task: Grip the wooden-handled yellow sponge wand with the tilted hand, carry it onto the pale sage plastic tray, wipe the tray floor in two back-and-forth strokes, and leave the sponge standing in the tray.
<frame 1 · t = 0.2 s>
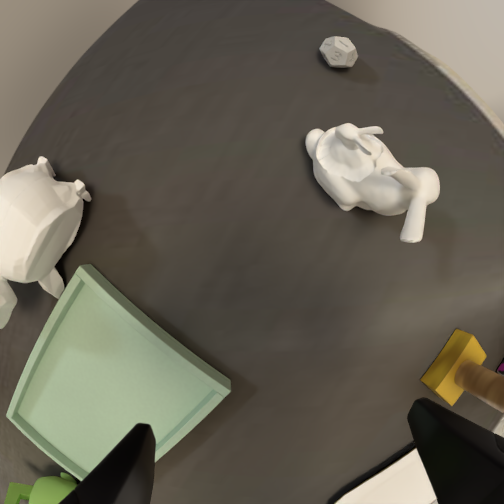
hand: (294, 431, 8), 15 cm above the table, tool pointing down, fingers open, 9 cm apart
sponge wand: (447, 363, 25), on the table
plate: (400, 488, 26), on the table
game die: (333, 61, 23), on the table
tray: (95, 404, 22), on the table
white turtle figurine: (43, 246, 21), on the table
white figurine: (350, 192, 24), on the table
teapot: (88, 498, 22), on the table
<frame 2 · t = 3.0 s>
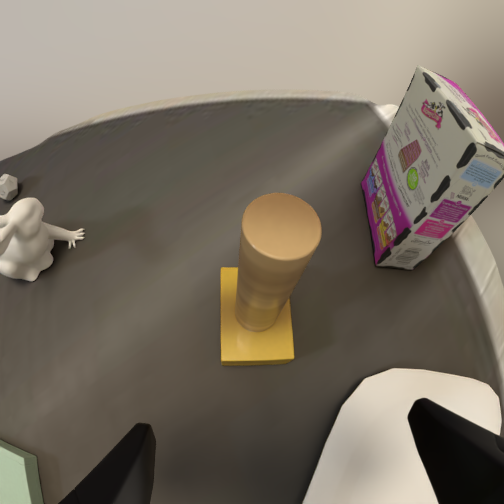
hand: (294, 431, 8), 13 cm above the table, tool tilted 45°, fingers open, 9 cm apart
sponge wand: (252, 322, 23), on the table
plate: (412, 482, 16), on the table
game die: (13, 194, 27), on the table
candy bar box: (386, 224, 29), on the table
white figurine: (36, 266, 23), on the table
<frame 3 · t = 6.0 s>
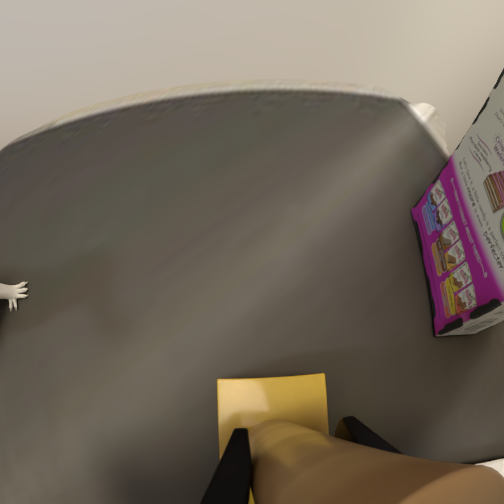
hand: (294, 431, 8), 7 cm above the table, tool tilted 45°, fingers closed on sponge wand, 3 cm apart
sponge wand: (267, 439, 13), on the table, touching gripper
candy bar box: (443, 270, 19), on the table
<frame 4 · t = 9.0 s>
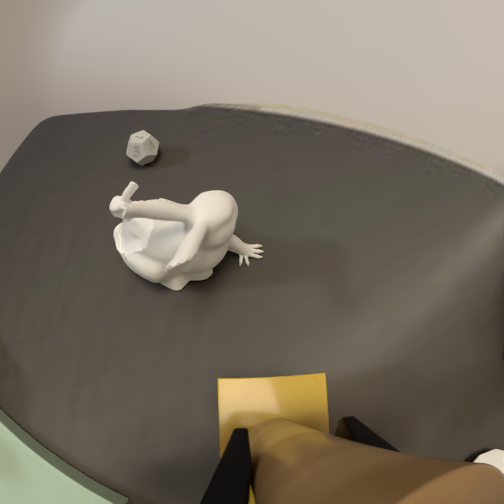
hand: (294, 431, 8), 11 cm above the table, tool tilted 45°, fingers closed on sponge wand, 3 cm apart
sponge wand: (268, 439, 13), point 4 cm above the table, touching gripper
game die: (145, 159, 28), on the table
white figurine: (181, 270, 22), on the table
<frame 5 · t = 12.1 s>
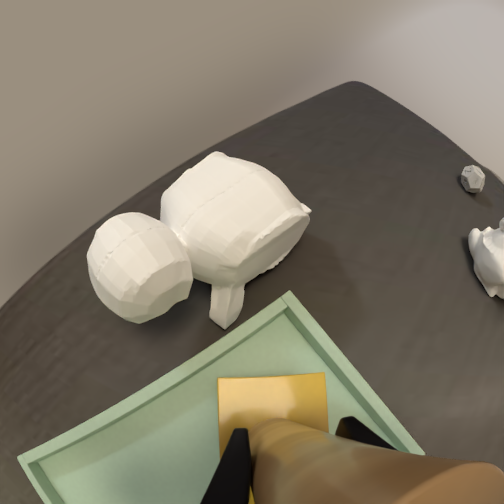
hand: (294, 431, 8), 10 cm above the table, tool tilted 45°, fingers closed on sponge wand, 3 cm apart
sponge wand: (267, 438, 13), point 3 cm above the table, touching gripper
game die: (466, 187, 29), on the table
tray: (213, 488, 13), on the table
white turtle figurine: (212, 263, 21), on the table
white figurine: (490, 284, 22), on the table
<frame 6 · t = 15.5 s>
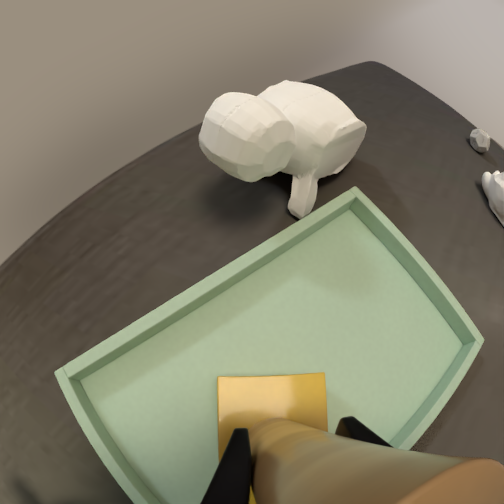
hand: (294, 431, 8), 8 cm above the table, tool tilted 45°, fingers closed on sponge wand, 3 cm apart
sponge wand: (266, 438, 13), point 1 cm above the table, touching gripper
game die: (474, 148, 31), on the table
tray: (299, 382, 15), on the table
white turtle figurine: (281, 173, 23), on the table
when the fingers open (8 cm above the table, at t = 18.1 s): sponge wand stays where it is, resting on tray.
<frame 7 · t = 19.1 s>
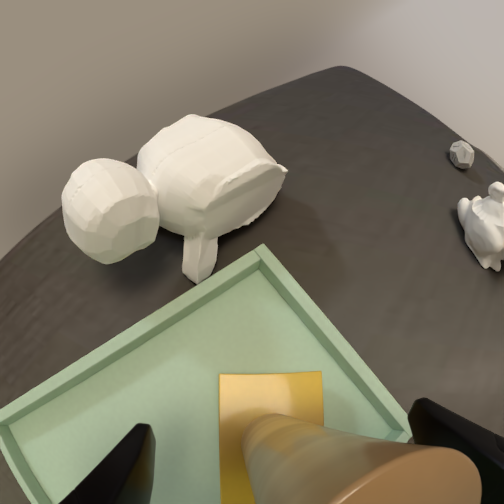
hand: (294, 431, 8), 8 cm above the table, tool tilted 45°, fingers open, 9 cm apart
sponge wand: (265, 434, 14), point 1 cm above the table, touching tray
game die: (455, 163, 29), on the table
tray: (180, 458, 13), on the table
white turtle figurine: (189, 223, 21), on the table
white figurine: (484, 256, 22), on the table
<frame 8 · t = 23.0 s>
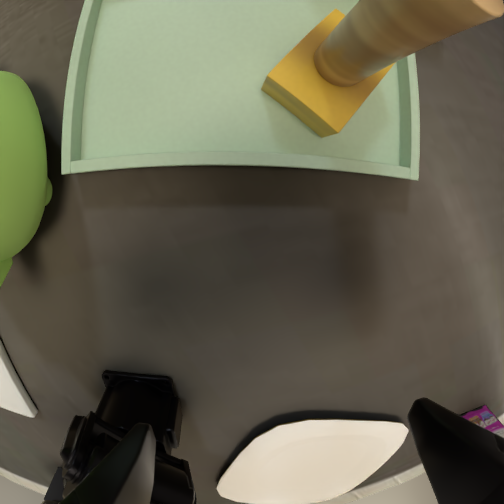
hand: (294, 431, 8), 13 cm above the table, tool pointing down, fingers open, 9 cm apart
sponge wand: (322, 77, 16), point 1 cm above the table, touching tray
plate: (311, 463, 28), on the table
tray: (246, 54, 16), on the table
planter: (89, 481, 28), on the table
candy bar box: (461, 420, 31), on the table
teapot: (10, 170, 16), on the table
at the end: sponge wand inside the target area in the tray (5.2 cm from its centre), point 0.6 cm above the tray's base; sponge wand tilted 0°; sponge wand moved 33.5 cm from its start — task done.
